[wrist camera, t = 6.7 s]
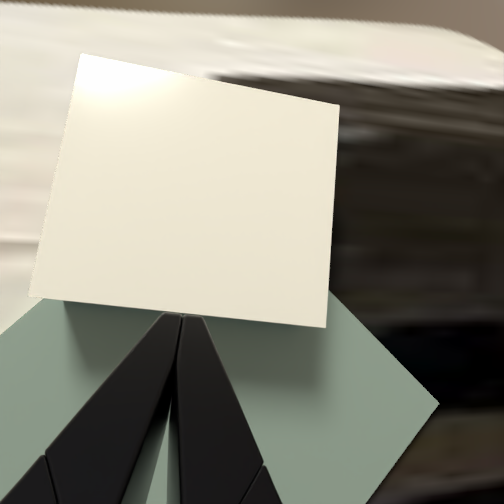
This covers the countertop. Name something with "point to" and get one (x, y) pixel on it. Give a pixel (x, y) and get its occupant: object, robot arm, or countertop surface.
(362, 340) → the mat
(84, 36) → the countertop surface
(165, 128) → the white box
